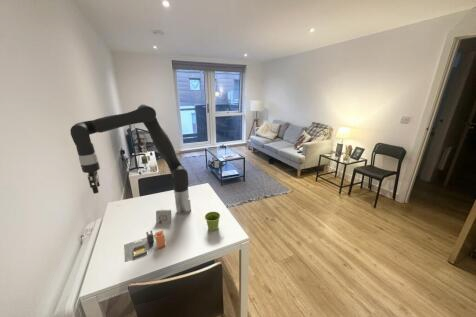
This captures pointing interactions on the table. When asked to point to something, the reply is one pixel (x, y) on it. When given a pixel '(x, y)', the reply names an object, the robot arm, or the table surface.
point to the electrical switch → (163, 216)
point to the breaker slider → (150, 236)
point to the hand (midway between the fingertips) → (96, 189)
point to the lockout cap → (160, 239)
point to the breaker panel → (140, 248)
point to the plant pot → (212, 220)
